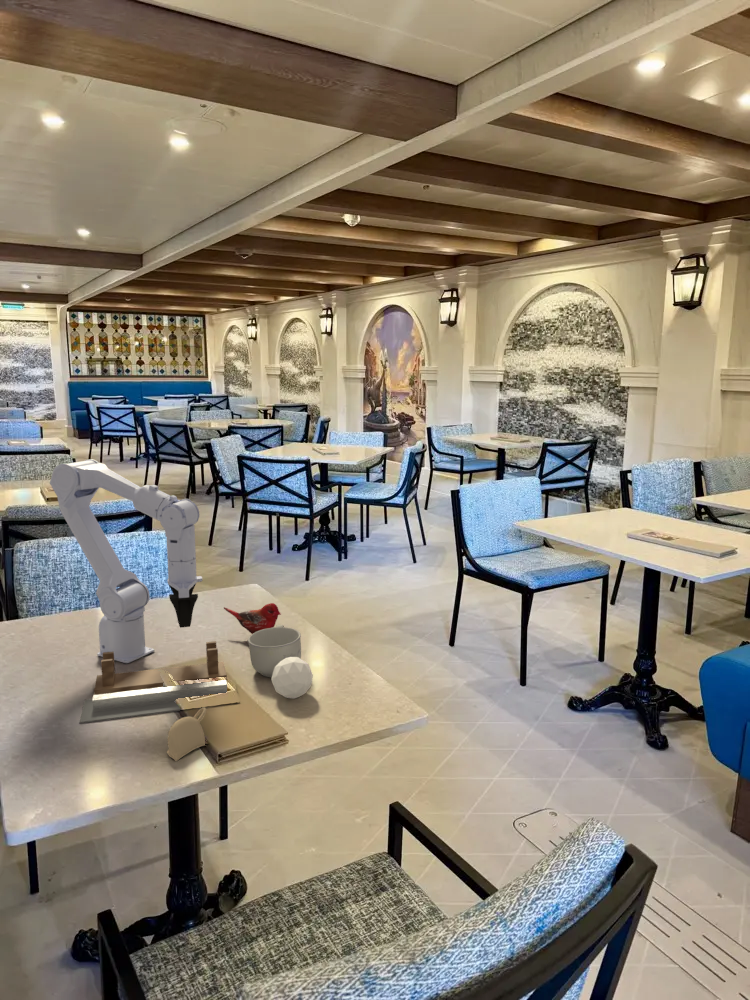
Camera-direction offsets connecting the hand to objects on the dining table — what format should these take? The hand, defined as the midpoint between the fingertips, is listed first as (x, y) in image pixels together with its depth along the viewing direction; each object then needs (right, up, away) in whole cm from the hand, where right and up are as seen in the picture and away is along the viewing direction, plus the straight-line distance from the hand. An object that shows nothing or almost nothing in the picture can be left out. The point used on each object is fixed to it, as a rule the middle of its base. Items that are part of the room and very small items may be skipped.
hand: (184, 620), depth 147 cm
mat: (0, -13, -17) cm, 21 cm away
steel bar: (0, -12, -17) cm, 21 cm away
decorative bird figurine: (+12, -7, +15) cm, 20 cm away
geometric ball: (+25, -12, -13) cm, 31 cm away
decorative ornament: (+10, -16, -32) cm, 37 cm away
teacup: (+20, -10, -1) cm, 22 cm away
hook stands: (-2, -11, -7) cm, 13 cm away
